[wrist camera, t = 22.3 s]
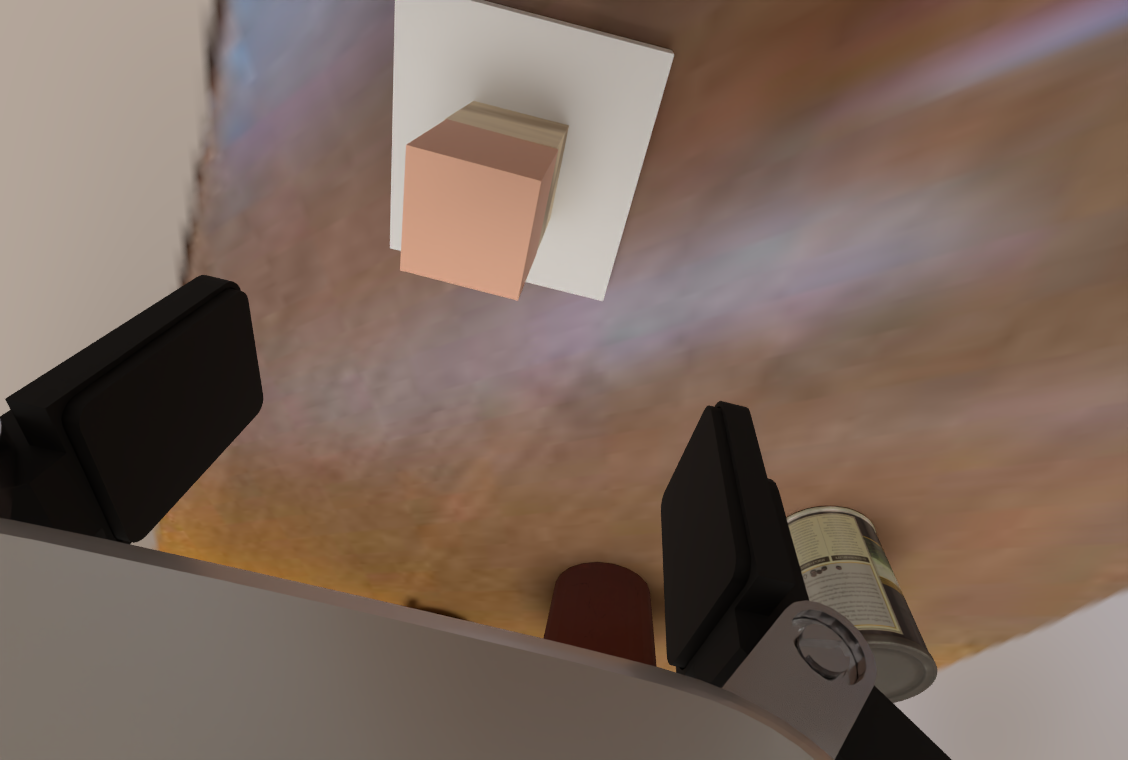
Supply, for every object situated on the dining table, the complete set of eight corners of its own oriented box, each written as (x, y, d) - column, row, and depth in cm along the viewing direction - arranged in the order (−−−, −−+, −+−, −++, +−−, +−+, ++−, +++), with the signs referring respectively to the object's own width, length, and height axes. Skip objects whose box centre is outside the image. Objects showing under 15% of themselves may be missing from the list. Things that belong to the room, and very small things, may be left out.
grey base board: (413, -19, 32) (395, -20, 30) (671, 49, 33) (674, 54, 30) (404, 233, 42) (389, 248, 39) (605, 283, 42) (602, 301, 40)
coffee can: (898, 523, 53) (968, 666, 42) (836, 579, 59) (882, 717, 48) (804, 492, 53) (850, 630, 41) (750, 552, 59) (777, 687, 47)
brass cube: (473, 100, 33) (444, 119, 28) (569, 125, 33) (556, 147, 28) (463, 197, 36) (436, 228, 32) (550, 218, 37) (536, 253, 32)
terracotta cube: (446, 118, 28) (406, 144, 23) (558, 149, 28) (541, 181, 23) (437, 228, 32) (400, 270, 27) (536, 254, 32) (517, 300, 27)
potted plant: (584, 524, 59) (554, 799, 39) (744, 596, 63) (793, 879, 43) (516, 598, 69) (465, 849, 49) (659, 657, 73) (666, 910, 53)
